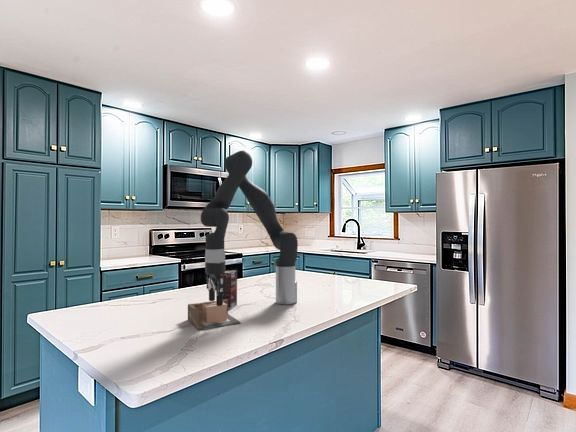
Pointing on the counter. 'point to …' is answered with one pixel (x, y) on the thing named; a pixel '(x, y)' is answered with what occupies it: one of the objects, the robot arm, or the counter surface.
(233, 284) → the supplement box
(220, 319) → the terracotta block
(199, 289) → the counter surface
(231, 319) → the arena
